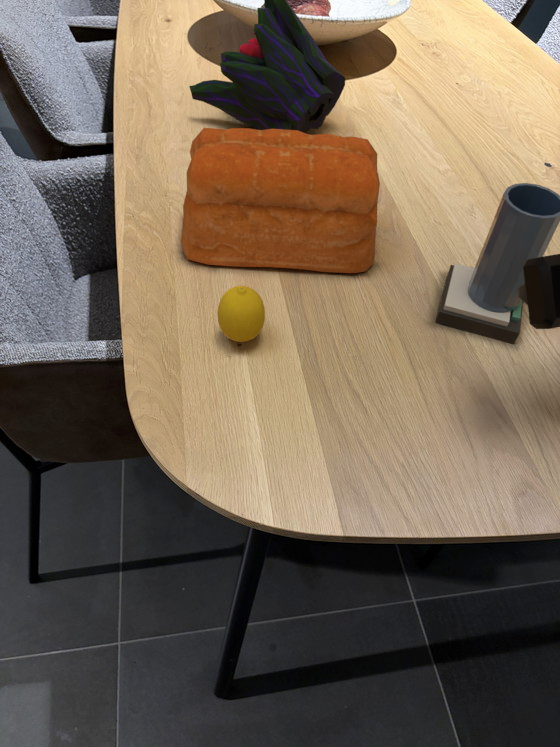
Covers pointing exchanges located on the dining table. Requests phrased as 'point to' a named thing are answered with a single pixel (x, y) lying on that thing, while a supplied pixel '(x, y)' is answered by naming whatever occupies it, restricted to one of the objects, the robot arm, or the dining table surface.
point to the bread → (281, 200)
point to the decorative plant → (275, 76)
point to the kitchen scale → (474, 310)
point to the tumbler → (513, 245)
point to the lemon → (241, 313)
